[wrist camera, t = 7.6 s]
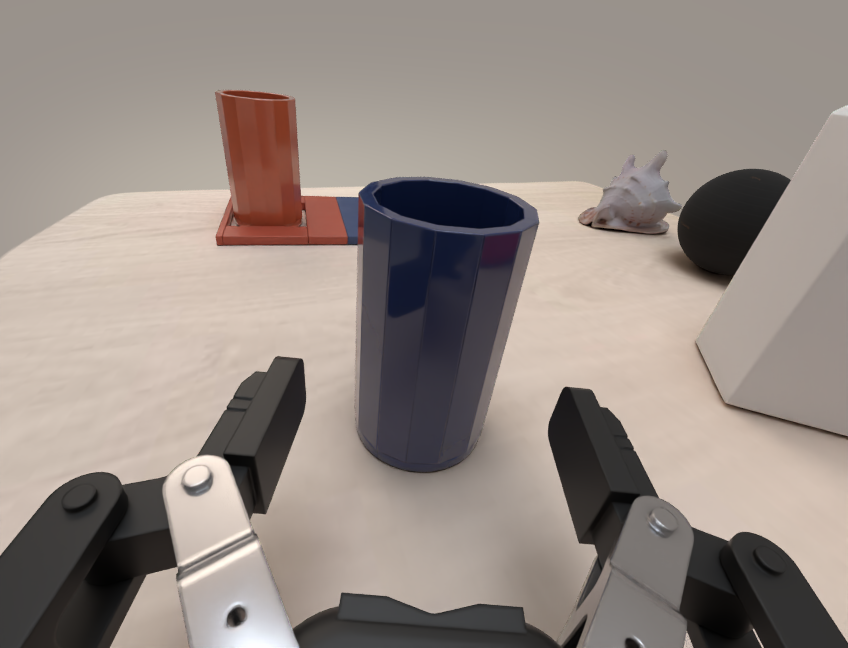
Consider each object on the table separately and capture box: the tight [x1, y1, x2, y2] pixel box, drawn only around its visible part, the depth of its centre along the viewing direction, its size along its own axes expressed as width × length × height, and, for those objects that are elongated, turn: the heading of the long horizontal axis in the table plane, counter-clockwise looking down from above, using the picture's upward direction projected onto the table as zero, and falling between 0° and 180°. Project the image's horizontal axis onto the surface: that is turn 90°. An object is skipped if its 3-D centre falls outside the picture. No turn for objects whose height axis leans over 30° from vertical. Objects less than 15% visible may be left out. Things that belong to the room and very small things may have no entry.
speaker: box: [678, 169, 791, 275], centre depth 39 cm, size 10×10×10 cm
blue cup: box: [355, 177, 539, 472], centre depth 17 cm, size 6×6×11 cm
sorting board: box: [216, 196, 359, 245], centre depth 42 cm, size 22×12×1 cm, turn 105°
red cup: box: [215, 90, 302, 227], centre depth 37 cm, size 6×6×11 cm
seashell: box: [579, 150, 682, 234], centre depth 49 cm, size 10×12×9 cm
